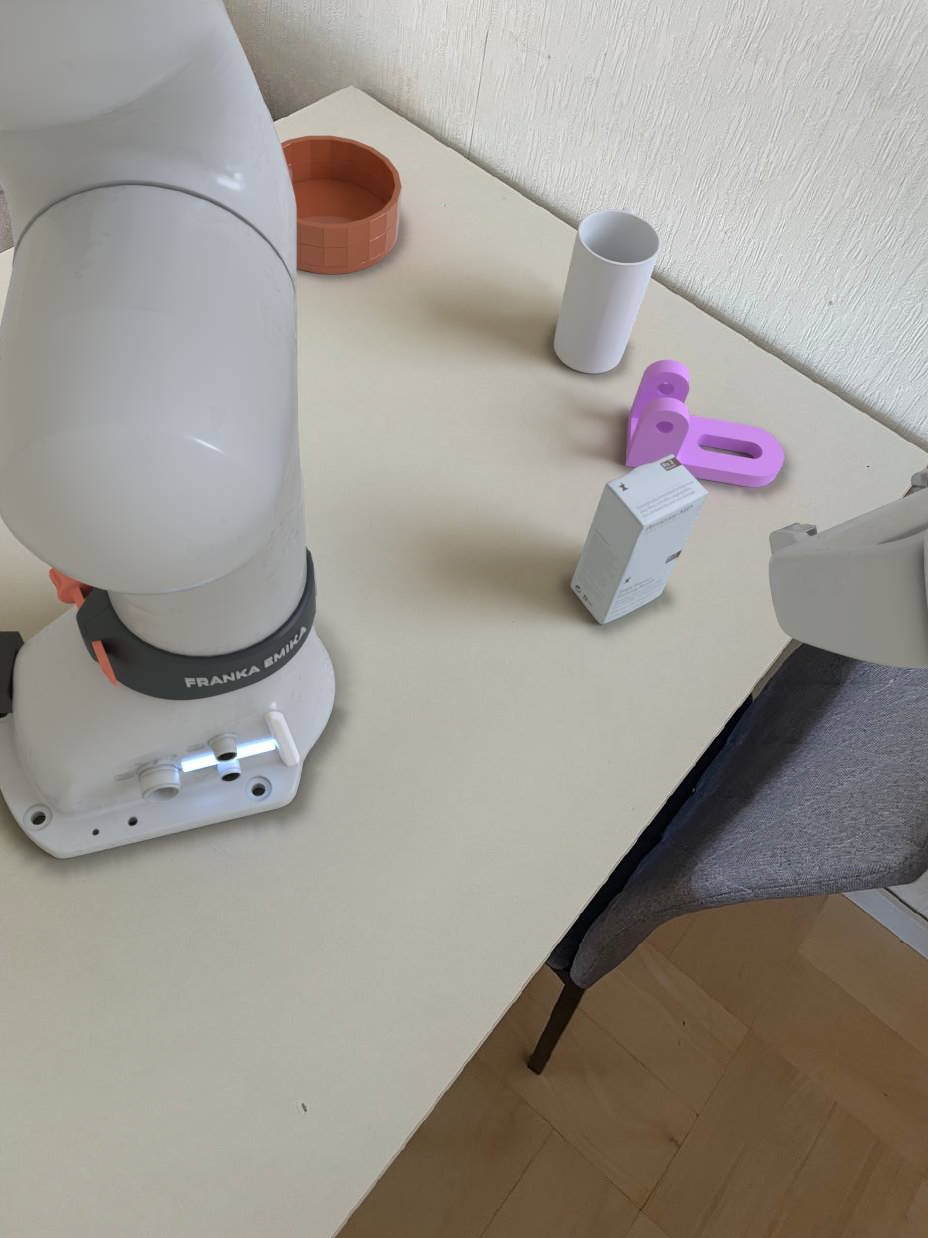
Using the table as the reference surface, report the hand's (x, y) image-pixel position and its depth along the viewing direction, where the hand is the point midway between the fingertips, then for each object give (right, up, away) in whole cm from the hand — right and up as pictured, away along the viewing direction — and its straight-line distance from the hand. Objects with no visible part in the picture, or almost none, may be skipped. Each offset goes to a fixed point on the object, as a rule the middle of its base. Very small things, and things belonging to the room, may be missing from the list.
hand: (853, 513), depth 52 cm
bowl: (-33, +32, +44) cm, 63 cm away
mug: (-8, +20, +40) cm, 46 cm away
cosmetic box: (-8, -3, +26) cm, 27 cm away
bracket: (0, +8, +34) cm, 35 cm away
